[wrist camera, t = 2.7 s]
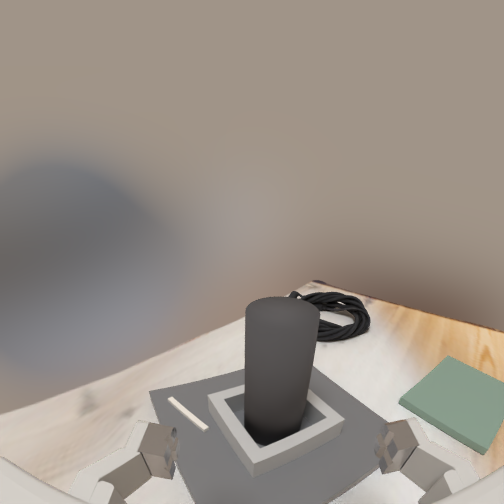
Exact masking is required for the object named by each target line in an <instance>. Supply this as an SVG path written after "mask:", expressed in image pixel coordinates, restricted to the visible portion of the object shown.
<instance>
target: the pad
mask: <svg viewBox="0 0 504 504" xmlns="http://www.w3.org/2000/svg"><path fill="white" fill-rule="evenodd" d="M399 404H401V405H402V406H404V407H405V408H407V409H408V410H410V411H411V412H413V413H415V414H416V415H418V416H419V417H421V418H422V419H424V420H426V421H427V422H429V423H430V424H432V425H434V426H435V427H437V428H438V429H440V430H442V431H443V432H445V433H447V434H448V435H450V436H451V437H453V438H455V439H456V440H458V441H460V442H461V443H463V444H465V445H467V446H468V447H470V448H472V449H473V450H475V451H477V452H479V453H480V454H482V455H484V454H485V453H486V451H487V450H488V448H489V447H490V445H491V443H492V441H493V439H494V437H495V436H496V434H497V432H498V430H499V428H500V426H501V424H502V422H503V419H504V383H503V382H501V381H499V380H497V379H495V378H493V377H491V376H489V375H487V374H485V373H483V372H481V371H479V370H477V369H475V368H473V367H471V366H469V365H466V364H464V363H462V362H460V361H458V360H456V359H454V358H452V357H450V356H447V357H446V358H445V359H444V360H443V361H442V362H441V363H440V364H438V365H437V366H436V367H435V368H434V369H433V370H432V371H431V372H430V373H429V374H428V375H427V376H425V377H424V378H423V379H422V380H421V381H420V382H419V383H418V384H416V385H415V386H414V387H413V388H412V389H410V390H409V391H408V392H407V393H406V394H404V395H403V396H402V397H401V398H400V401H399Z"/></svg>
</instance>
